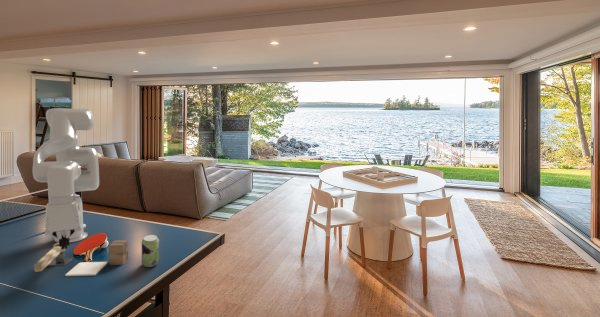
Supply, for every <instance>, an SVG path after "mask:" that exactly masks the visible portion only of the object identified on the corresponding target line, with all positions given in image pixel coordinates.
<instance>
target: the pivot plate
mask: <svg viewBox="0 0 600 317" xmlns="http://www.w3.org/2000/svg"><path fill="white" fill-rule="evenodd" d="M72 260H73V257H66V258H65V260H64V261H62V262H56V258H54V259H53V260H52V261H51V262H50V263H49V264H48V265H47V266H48V267H51V266H52V267H53V266H54V267H55V266H57V267H59V266H61V267H62V266H65V265H67V264H68V263H69V262H71V261H72ZM47 266H46V267H47Z"/></svg>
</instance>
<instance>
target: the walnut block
mask: <svg viewBox="0 0 600 317" xmlns="http://www.w3.org/2000/svg"><path fill="white" fill-rule="evenodd" d="M108 247H109V248H108V249H109V252H108V253H109V265H110V266H117V265H118V266H119V265H120V266H121V265H125V264H126V263H127V261H129V241H128V240H125V239H123V240H113V241H112V242H111V243H110V244H109V245H108Z"/></svg>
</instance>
